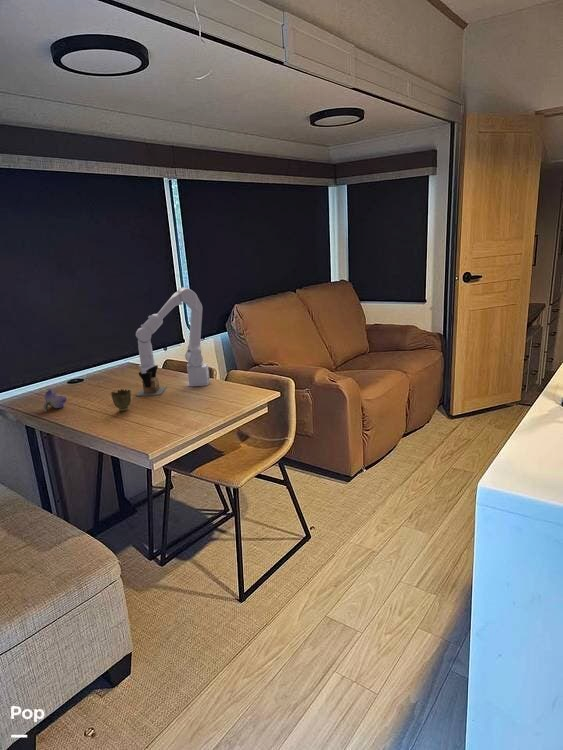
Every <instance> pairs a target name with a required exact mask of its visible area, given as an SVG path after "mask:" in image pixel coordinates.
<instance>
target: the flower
mask: <svg viewBox="0 0 563 750" xmlns="http://www.w3.org/2000/svg"><path fill="white" fill-rule="evenodd" d="M57 392H58V391H56V390H55V391H52V389H51V388H48V390H47V391H46V392H45V394H44V399H45V403H44V405H43V410H44V413H45V412H46V411H47V409H48V406H50V407H53V408H54V409H57V408H60V409H62V407H63V408H64V407H65V403H66V402H67V397H66V396H64V395H62V394H57ZM47 412H48V411H47ZM47 412H46V413H47Z"/></svg>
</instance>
